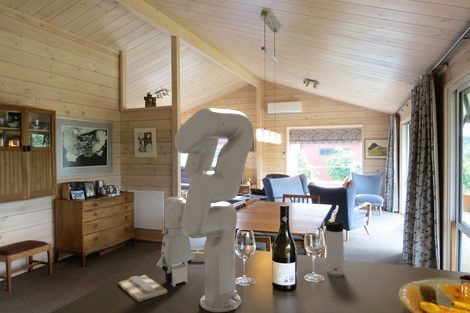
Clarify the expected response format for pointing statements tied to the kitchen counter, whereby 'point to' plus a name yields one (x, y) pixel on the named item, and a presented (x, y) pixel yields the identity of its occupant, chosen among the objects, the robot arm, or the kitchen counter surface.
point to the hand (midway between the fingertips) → (176, 279)
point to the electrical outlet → (198, 255)
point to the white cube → (178, 273)
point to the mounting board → (138, 292)
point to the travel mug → (335, 249)
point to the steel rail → (142, 285)
